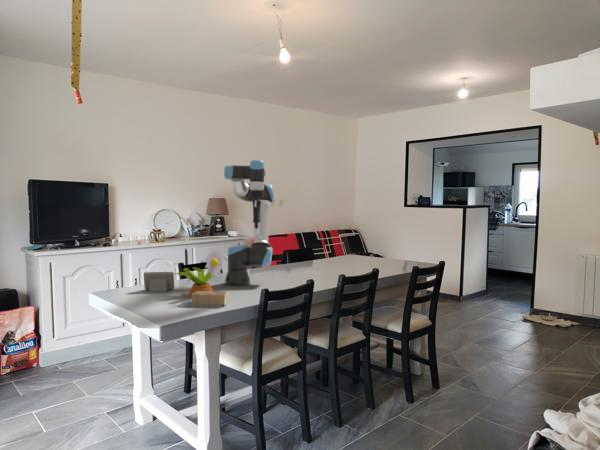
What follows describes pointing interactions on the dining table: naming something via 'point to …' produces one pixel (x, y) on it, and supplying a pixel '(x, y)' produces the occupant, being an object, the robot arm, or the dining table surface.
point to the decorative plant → (200, 283)
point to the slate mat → (189, 304)
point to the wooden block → (209, 298)
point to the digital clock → (158, 281)
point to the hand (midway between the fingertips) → (256, 234)
